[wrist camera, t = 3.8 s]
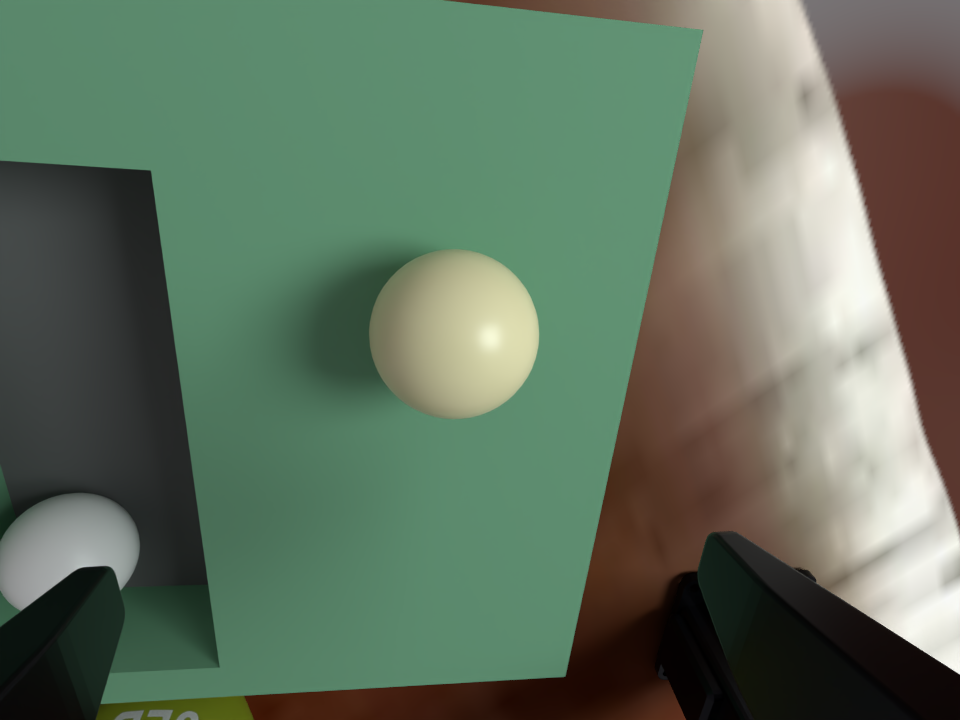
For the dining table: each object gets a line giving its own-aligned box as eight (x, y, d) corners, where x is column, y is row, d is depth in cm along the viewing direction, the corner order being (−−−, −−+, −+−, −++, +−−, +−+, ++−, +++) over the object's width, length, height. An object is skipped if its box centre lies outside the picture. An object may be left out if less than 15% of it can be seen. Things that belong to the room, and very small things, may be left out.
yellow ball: (529, 235, 16) (570, 284, 12) (512, 373, 17) (544, 453, 14) (372, 226, 15) (366, 275, 11) (371, 370, 17) (365, 453, 13)
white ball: (151, 471, 21) (86, 554, 18) (168, 558, 23) (112, 649, 19) (33, 466, 21) (-57, 547, 17) (59, 554, 23) (-18, 645, 19)
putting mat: (640, 38, 18) (703, 30, 14) (542, 595, 27) (565, 676, 23) (-195, -54, 14) (-390, -95, 11) (20, 615, 24) (-46, 712, 20)
